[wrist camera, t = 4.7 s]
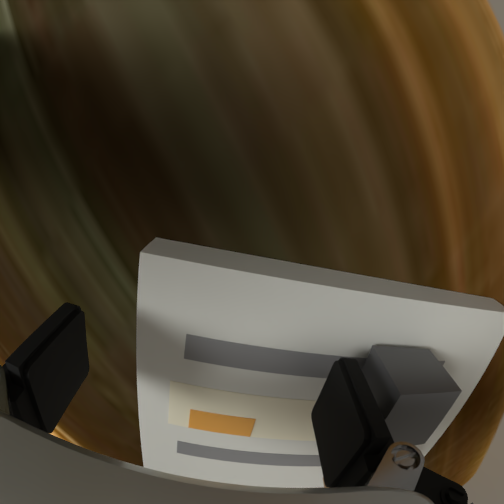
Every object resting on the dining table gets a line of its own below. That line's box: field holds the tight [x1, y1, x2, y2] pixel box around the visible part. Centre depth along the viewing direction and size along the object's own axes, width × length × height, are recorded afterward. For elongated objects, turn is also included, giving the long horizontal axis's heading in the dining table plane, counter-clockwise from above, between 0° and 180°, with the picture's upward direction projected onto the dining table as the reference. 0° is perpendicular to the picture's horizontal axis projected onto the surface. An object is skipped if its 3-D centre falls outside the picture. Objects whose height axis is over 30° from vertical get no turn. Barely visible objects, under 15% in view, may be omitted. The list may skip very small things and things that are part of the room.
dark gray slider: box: [362, 345, 462, 445], centre depth 10 cm, size 3×3×3 cm
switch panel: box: [136, 237, 504, 488], centre depth 14 cm, size 14×18×2 cm
